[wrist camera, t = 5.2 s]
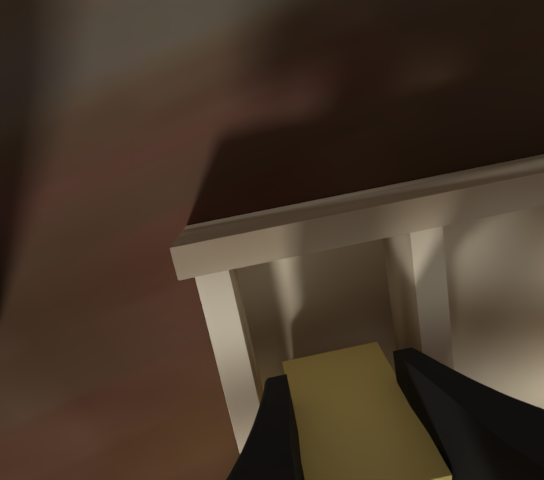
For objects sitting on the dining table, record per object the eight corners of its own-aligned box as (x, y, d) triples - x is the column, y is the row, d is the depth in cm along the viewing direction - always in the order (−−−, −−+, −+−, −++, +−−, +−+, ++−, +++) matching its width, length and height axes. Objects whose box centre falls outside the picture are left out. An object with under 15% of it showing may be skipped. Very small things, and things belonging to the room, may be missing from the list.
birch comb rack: (571, 394, 17) (647, 449, 14) (246, 465, 17) (247, 540, 13) (572, 148, 14) (666, 147, 11) (186, 225, 14) (169, 248, 11)
